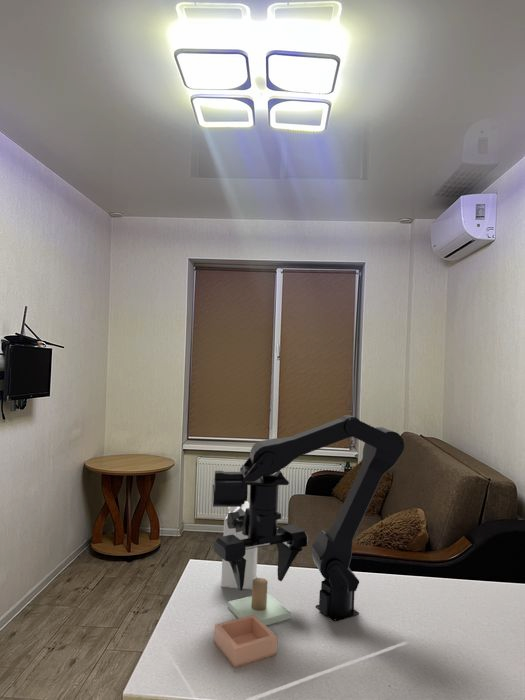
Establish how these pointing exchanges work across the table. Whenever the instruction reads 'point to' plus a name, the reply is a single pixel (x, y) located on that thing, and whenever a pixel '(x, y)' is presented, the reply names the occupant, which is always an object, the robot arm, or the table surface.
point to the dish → (245, 640)
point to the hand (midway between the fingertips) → (260, 585)
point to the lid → (259, 605)
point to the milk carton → (250, 557)
